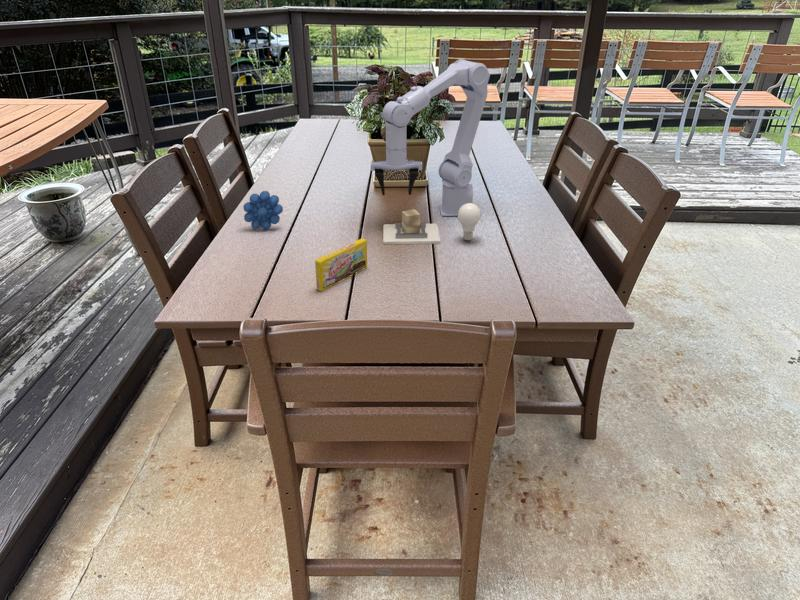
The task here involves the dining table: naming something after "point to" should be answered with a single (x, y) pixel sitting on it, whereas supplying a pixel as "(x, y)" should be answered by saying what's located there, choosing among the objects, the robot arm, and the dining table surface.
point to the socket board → (410, 234)
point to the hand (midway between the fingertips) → (396, 193)
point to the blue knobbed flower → (262, 210)
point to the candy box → (340, 264)
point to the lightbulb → (469, 219)
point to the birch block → (410, 221)
